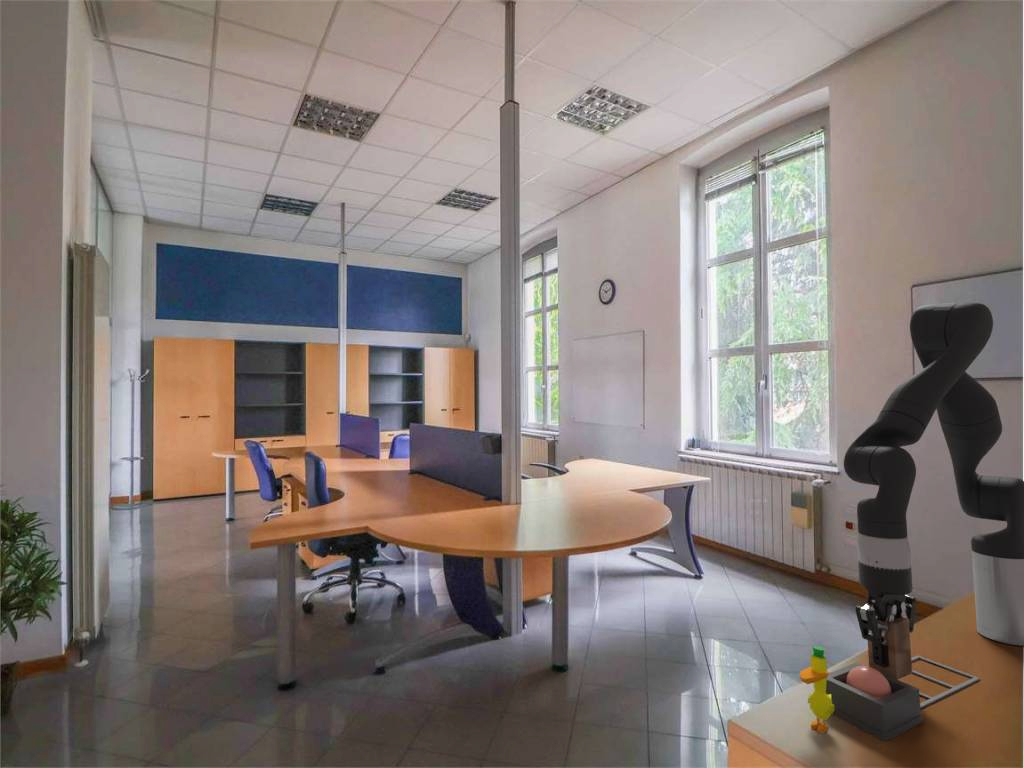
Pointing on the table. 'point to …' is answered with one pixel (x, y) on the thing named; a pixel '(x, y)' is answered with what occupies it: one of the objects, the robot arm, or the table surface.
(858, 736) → the table surface
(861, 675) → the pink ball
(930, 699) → the frame
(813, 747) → the table surface
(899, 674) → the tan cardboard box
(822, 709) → the toy figure
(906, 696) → the housing
